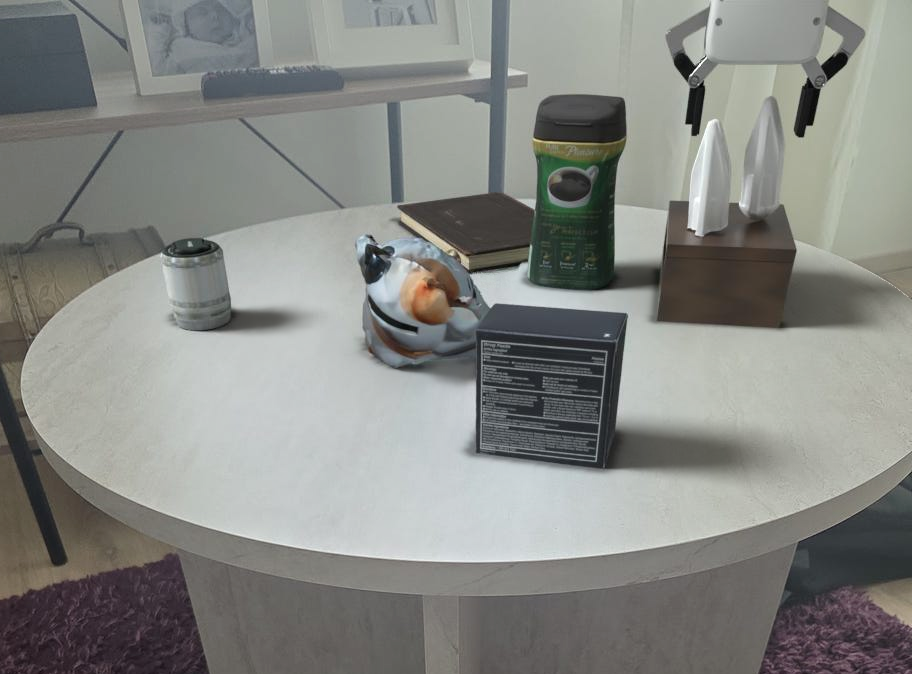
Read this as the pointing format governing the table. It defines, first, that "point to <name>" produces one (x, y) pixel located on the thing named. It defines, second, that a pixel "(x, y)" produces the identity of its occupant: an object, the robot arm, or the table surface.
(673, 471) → the table surface
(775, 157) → the shaker set
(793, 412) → the table surface
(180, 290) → the camera lens
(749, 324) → the brown wooden box
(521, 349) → the small box
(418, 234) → the hardcover book
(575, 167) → the coffee jar
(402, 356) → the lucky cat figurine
